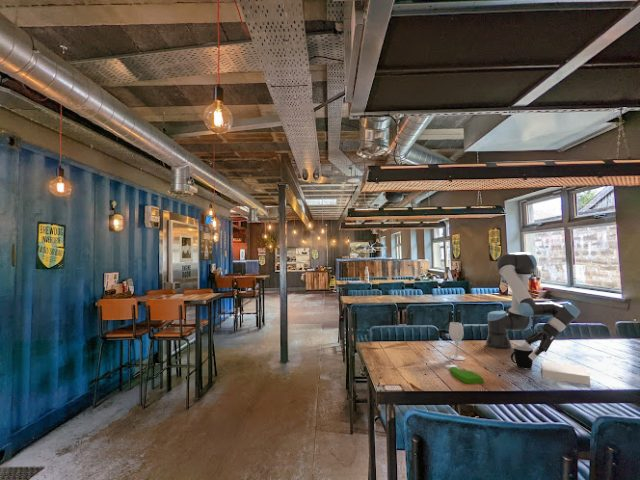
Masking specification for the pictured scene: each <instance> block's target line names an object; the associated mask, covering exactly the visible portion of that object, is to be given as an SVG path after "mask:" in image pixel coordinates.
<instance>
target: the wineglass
mask: <svg viewBox="0 0 640 480" xmlns="http://www.w3.org/2000/svg"><path fill="white" fill-rule="evenodd" d="M448 336H449V338H450V339H451V340H452V342H453V341H454V343H455V355H450V356H449V359H451V360H453V359H454V360H455V361H464V360H466V358H465V357H464V356H462V355H459V347H458V345H459V342H461V341H462V339H464V327H463V324H462V323H461V322H456V321H451V322H449V327H448Z"/></svg>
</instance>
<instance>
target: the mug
mask: <svg viewBox="0 0 640 480" xmlns="http://www.w3.org/2000/svg"><path fill="white" fill-rule="evenodd" d="M533 351H534V349H533V348H531V347H530V346H529V347H524V346H521V345H515V346H513V352H512V353H511V355H510V360H511V361H512V363H514V364H516V366H517V367H518V368H521V369H524V368H527V369H526V370H529V368H530V369H531V368H532V367H533V363H534V360H531V359H530V358H529V357H528V356H529V355H530V354H531V353H532V352H533ZM514 359H515V360H514Z"/></svg>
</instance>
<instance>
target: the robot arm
mask: <svg viewBox="0 0 640 480" xmlns="http://www.w3.org/2000/svg"><path fill="white" fill-rule="evenodd" d="M537 265H538V261H537V258H536V257H535V255H533V254H532V253H530V252H507V253H503V254H501V255H500V256H499V257H498V259H497V261H496V268H497V271H498V273H499V274H500V275H501V276H502V277H503V279H504V280H505V282H506V284H507V285H508V287H509V288H510V290H511V304H510V305H511V306H510V307H509V308H508V312H507V311H505V310H494V311H490V312H487V318H486V320H487V333H488V334H487V337H486V341H485V346H487V347H489V348H492V347H493V348H492V349H500V350H501V349H502V350H509V349H511V348H512V343H511V340H510V337H509V335H508V331H514V332H516V331H518V332H519V331H520V332H521V331H522V332H523V331H528V330H529V329H531V328H532V325H533V319H532V317H550V318H549V319H548V320H547V322H545V323H544V324H543V325H542V326H541V329H542V330H541V329H538V330H537V331H535V332H534V333H532V334H530V335H529V336H527V337H526V338H525V339H524V340H525V341H524V343H522V344H521V345H520V346H524V347H529V348H530V346H532V344H534V343H537V342H538V341H540V343H539V345H538V346H537V347H536V348H535V349H533V352H532V353H531V354H530V355H529V356H528V357H529V358H530V359H531V360H533V361H534V360H535V359H537V357H538V356H539V355H540V354H541V353H547V351H549V350H548V349H549V348H550V347H551V345H552V343H553V342H554V340H555V339H556V338H557V337H558V336H559V335H560V333H561V332H563V331H565V330H566V328H567V327H568V326H569V325H570V324H571V323H572V322H573V321H575V320H576V319H577V318H578V316H579V315H580V314H581V310H580V309H579V308H578V307H576V306H575V305H573V304H572V303H569V302H568V303H565V304H564V305H561V304H559V303H558V302H555V301H553V300H552V301H551V300H545V301H544V302H536V301H535V300H534V299H533V297H532V296H531V294H530V292H529V291H528V290H529V289H528V288H529V280H530V279H529V277H530V275H532V274H533V273H532V272H533V271H534V270H536V269H537V268H538V266H537Z"/></svg>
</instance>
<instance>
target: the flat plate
mask: <svg viewBox="0 0 640 480" xmlns="http://www.w3.org/2000/svg"><path fill="white" fill-rule="evenodd" d="M540 367H541V368H540V369H541V374H542V377H543V379H546V380H547V379H548V380H551V381H552V380H553V381H559V380H560V382H567V383H573V384H574V383H575V384H579V385H580V384H581V385H586V384H587V385H588V386H591V379H590V375H589V373H588V372H587V370H586V368H585V366H584V365H583V366H582V365H575V364H567V363H557V362H552V361H544V360H543V361H542V360H541V361H540Z"/></svg>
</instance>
